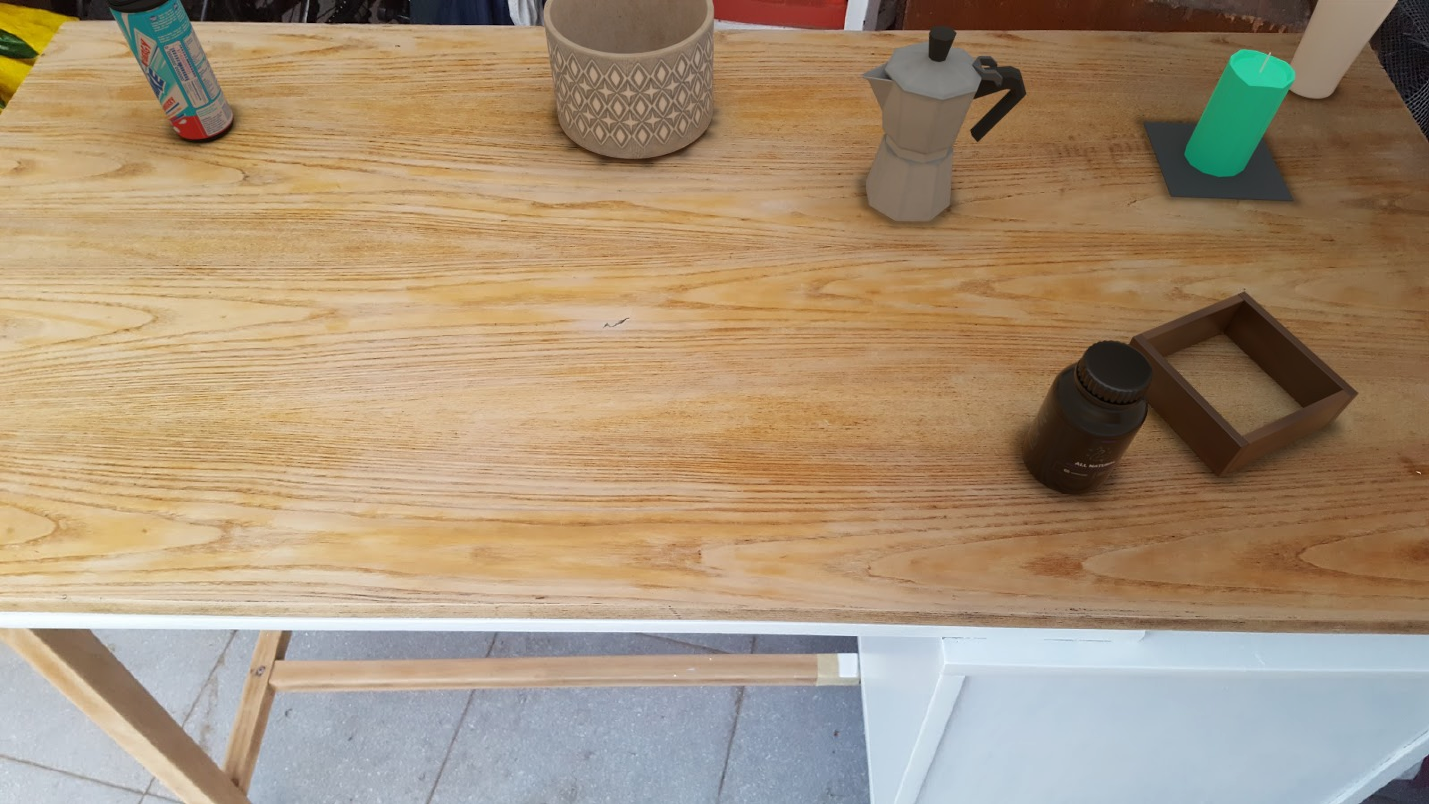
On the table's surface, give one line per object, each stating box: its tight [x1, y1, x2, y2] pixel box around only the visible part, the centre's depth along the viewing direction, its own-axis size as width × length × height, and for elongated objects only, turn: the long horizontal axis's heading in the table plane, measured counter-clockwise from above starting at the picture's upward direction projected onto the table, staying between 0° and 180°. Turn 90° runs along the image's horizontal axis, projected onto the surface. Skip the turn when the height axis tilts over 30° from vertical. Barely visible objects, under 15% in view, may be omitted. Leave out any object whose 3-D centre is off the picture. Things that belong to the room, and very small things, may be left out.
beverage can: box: [105, 0, 234, 143], centre depth 94 cm, size 6×6×15 cm
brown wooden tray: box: [1128, 291, 1359, 478], centre depth 77 cm, size 12×12×5 cm
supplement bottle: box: [1021, 339, 1153, 496], centre depth 70 cm, size 7×7×12 cm
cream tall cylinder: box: [1289, 0, 1399, 100], centre depth 100 cm, size 7×7×15 cm
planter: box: [542, 0, 715, 160], centre depth 96 cm, size 16×16×13 cm
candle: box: [1184, 48, 1295, 177], centre depth 92 cm, size 6×6×12 cm
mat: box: [1143, 121, 1295, 202], centre depth 97 cm, size 12×12×1 cm
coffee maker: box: [860, 24, 1027, 222], centre depth 87 cm, size 15×9×18 cm, turn 91°
